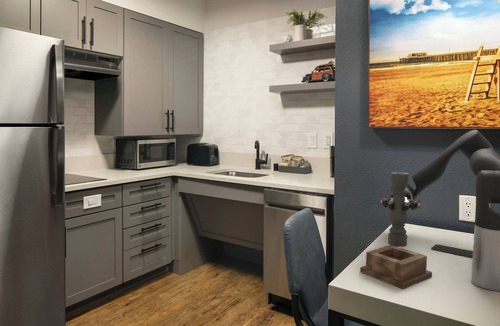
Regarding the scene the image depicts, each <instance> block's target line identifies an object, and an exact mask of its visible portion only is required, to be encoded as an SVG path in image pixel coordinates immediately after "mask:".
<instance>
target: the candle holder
mask: <svg viewBox="0 0 500 326" xmlns="http://www.w3.org/2000/svg"><path fill="white" fill-rule="evenodd" d="M409 176H410V173H409V172H402V171H394V172H392V171H391V172H390V183H391V186H392V185H393V189H392V190H391V189H390V192H391V194H392V193H393V209H392V210H390V212H389V215H388V220H389V222H390V224H391V226H390V228H388V232H389V233H388V234H387V235H388V236H387V244H388V246H389V245H393V246H397V247H400V248H403V247H407V245H408V234H407V230H406V228H405V226H406V224H407V223H408V220H409V217H408V212H407V210H406V211H404V204H405V195H406V193H407V190H406V189H405V188H406V186H407V185H408V183H409V178H410V177H409ZM409 184H410V183H409Z"/></svg>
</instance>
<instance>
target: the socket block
mask: <svg viewBox="0 0 500 326" xmlns="http://www.w3.org/2000/svg"><path fill="white" fill-rule="evenodd" d="M427 263H428V255H425V254H423V253H420V252H416V251H412V250H409V249H407V248H403V247H397V246H393V245H389V244H388V245H386V246H382V247H378V248H375V249H373V250H369V251H366V253H365V265H363V266H360V268H359V273H362V274H365V275H367V276H370V277H371V278H375V279H376V280H379V281H381V282H382V281H383V282H385V283H387V284H389V285H391V286H394V287H396V288H400V289H402V290H404V289H406V288H409V287H411V286H413V285H416V284H418V283H420V282H422V281H425V280H427V279H430V278H432V277H433V271H432V270H431V271H430V270H428V269H427V265H428V264H427Z"/></svg>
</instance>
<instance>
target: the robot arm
mask: <svg viewBox="0 0 500 326" xmlns="http://www.w3.org/2000/svg"><path fill="white" fill-rule="evenodd" d="M459 151H460V152H461V153H462V154H463V155H464V156H465V157H466V158H467V160H469V167H470V170H471V172H472V174H474V176H475V177H476V180H475V210H474V211H475V212H474V213H475V214H474V230H473V231H474V232H473V245H472V246H473V248H472V251H473V258H471V259H472V260H471V261H472V263H471V273H470V274H471V277H470V278H471V279H470V281H471V283H472V284H473V285H475V286H476V287H480V288H483V289H484V290H485V289H486V290H490V291H495V292H496V291H497V292H500V212H498V211H496V210H495V209H493V208H492V207H491V205H490V204H498V205H499V204H500V155H499V153H498V152H496V151H495V150H494V147H493V145H492V144H491V142H490V141H488V140H487V138H486V137H485V136H484V135H483V134H482V133H481V132H480V131H479V130H477V129H472V130H469V131H467V132H466V133H464V134H463V135H462V136H460V137H459V138H458V139H456V140H455V141H454V142H453V143H452V144H450V145H449V146H448V147H447V148H446V149H444V151H442V152H441V154H439V155H438V156H437V157H435V159H434V160H432V161H431V162H430V163H429V164H427V165H426V166H424V167H423V168H421V169H420V170H418V171H417V172H415V173H414V174H413V175H412V181H413V183H414V185H415V189H414V188H413V187H412V186H411V185H410V183H408V185H407V186H406V188H405V189H406V190H407V193H406V195H405V204H404V211H406V212H407V211H409V210H413V211H414V210H415V211H416V210H417V209H420V208H421V200H420V199H417V198H418V197H419V195H420V194H421V193H423V191H424V190H426V188H428V187H429V186H431V185H432V184H434V183H436V182H437V181H439V180H440V179H441V178H442V176H443V175H444V174H445V171H446V169H447V167H448V165H449V162H450V161H451V159H452V158H453V157H454V155H455V154H456V153H458V152H459ZM390 187H391V188H390V191H391V190H392V189H393V185H392V184H391V186H390ZM416 199H417V200H416ZM380 205H381V206H383V208H385V209H386V208H387V209H389V210H390V211H391V210H392V209H393V193H392V192H391V196H390V197H389V198H386V197H383V196H382V197H380Z"/></svg>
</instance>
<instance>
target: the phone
mask: <svg viewBox="0 0 500 326" xmlns="http://www.w3.org/2000/svg"><path fill="white" fill-rule="evenodd" d="M430 250H432V251H434V252H440V253H444V254H450V255H453V256H460V257H463V258H469V259H473V250H471V249H470V250H469V249H465V248H460V247H454V246H448V245H443V244H439V243H438V244H434V245H432V247H431V248H430Z"/></svg>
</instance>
